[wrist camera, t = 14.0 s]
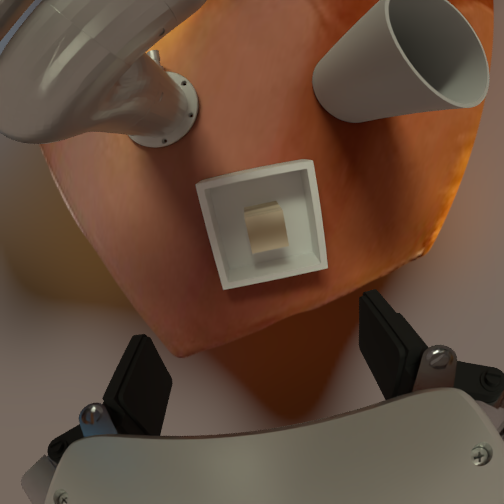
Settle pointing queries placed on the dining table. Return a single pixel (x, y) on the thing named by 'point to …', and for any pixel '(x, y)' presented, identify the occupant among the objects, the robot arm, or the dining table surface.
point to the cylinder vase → (403, 63)
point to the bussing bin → (235, 231)
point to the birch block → (265, 227)
